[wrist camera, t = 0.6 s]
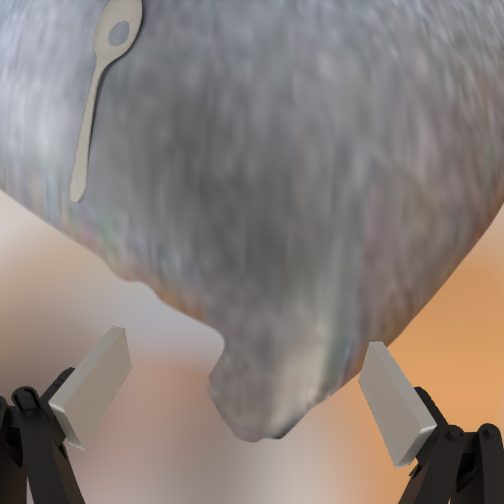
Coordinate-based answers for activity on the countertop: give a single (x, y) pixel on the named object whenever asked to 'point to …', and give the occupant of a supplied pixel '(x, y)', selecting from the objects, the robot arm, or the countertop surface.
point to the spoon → (119, 9)
